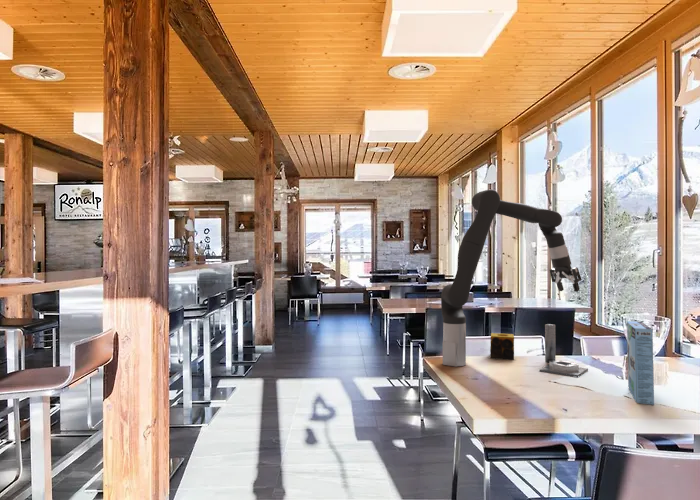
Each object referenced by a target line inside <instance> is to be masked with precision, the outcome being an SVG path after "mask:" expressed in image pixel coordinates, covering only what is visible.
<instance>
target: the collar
mask: <svg viewBox="0 0 700 500" xmlns="http://www.w3.org/2000/svg"><path fill="white" fill-rule="evenodd" d="M538 369H539V371H538V372H542V373H549V374H555V375H561V376H567V377H573V376H577V377H576V378H579V377H580V376H582V375H583V374H585V373H586V371H587V372H588V371H589V368H587V367H580V366H579V364H578V363H576V362H574V361H567V360H555V361H549V363H548V364H547V365H545V366H543V367H541V368H538ZM584 372H585V373H584ZM581 374H582V375H581ZM578 376H579V377H578Z"/></svg>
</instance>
